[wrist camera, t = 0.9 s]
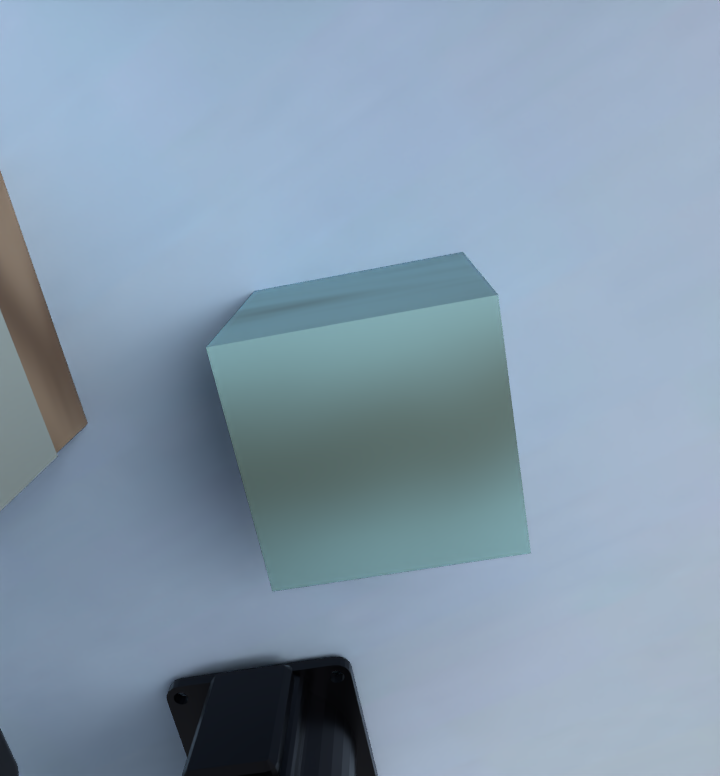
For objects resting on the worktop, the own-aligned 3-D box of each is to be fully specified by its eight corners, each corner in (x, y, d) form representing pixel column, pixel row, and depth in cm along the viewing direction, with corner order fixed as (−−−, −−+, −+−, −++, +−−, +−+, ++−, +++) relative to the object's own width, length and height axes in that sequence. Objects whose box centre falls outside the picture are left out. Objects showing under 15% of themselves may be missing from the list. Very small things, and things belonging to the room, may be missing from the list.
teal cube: (489, 444, 21) (530, 553, 16) (300, 475, 22) (272, 591, 16) (462, 251, 19) (497, 294, 14) (255, 290, 20) (205, 347, 14)
